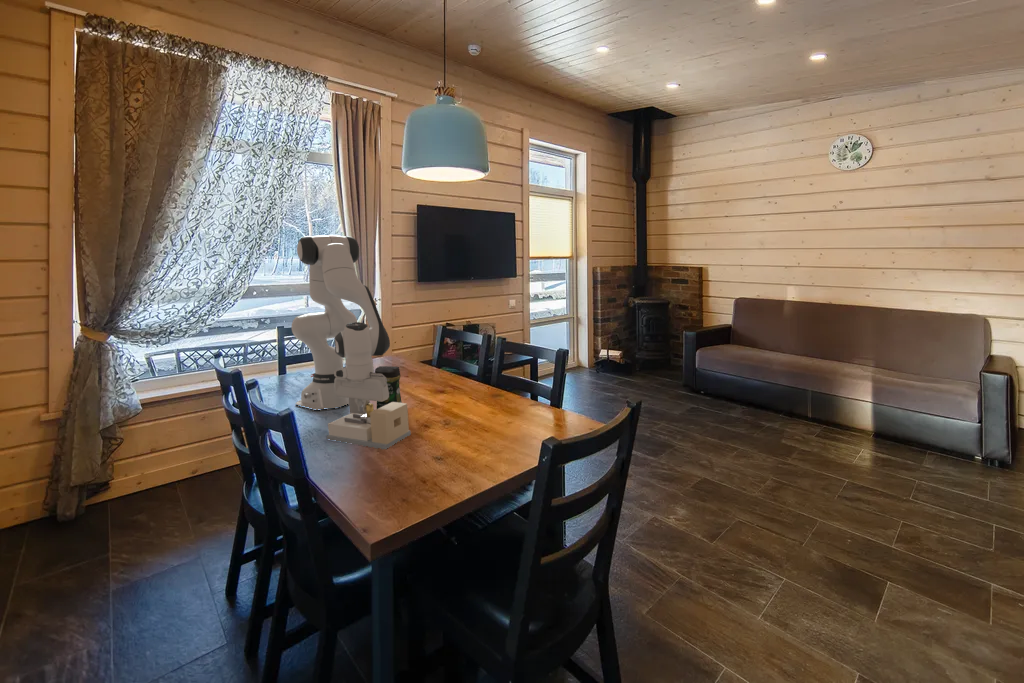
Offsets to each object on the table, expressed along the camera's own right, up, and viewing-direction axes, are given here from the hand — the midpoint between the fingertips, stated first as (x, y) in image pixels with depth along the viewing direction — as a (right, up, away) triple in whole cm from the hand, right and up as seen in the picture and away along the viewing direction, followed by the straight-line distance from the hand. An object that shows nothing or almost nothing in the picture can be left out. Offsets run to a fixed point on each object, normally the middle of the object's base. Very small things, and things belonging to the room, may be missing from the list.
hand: (363, 411), depth 166 cm
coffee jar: (+2, -5, +28) cm, 28 cm away
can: (-8, -6, +22) cm, 24 cm away
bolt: (+5, -4, -1) cm, 6 cm away
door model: (+2, -9, +1) cm, 9 cm away
